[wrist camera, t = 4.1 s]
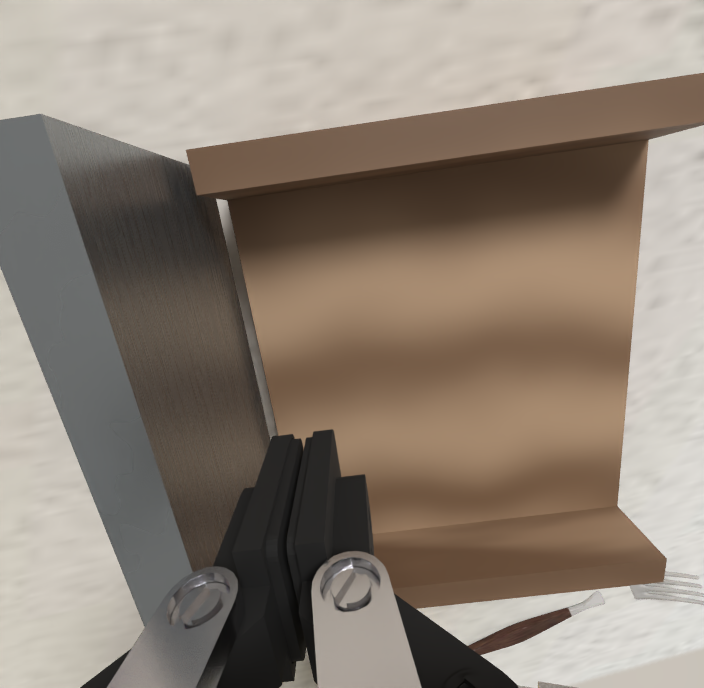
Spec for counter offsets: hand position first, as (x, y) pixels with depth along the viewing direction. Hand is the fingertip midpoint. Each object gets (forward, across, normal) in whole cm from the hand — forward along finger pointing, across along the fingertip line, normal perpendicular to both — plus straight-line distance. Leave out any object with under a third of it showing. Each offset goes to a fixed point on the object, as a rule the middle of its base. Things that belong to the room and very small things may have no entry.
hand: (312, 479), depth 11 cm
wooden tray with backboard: (+8, -5, 0) cm, 10 cm away
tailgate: (+6, +3, 0) cm, 7 cm away
